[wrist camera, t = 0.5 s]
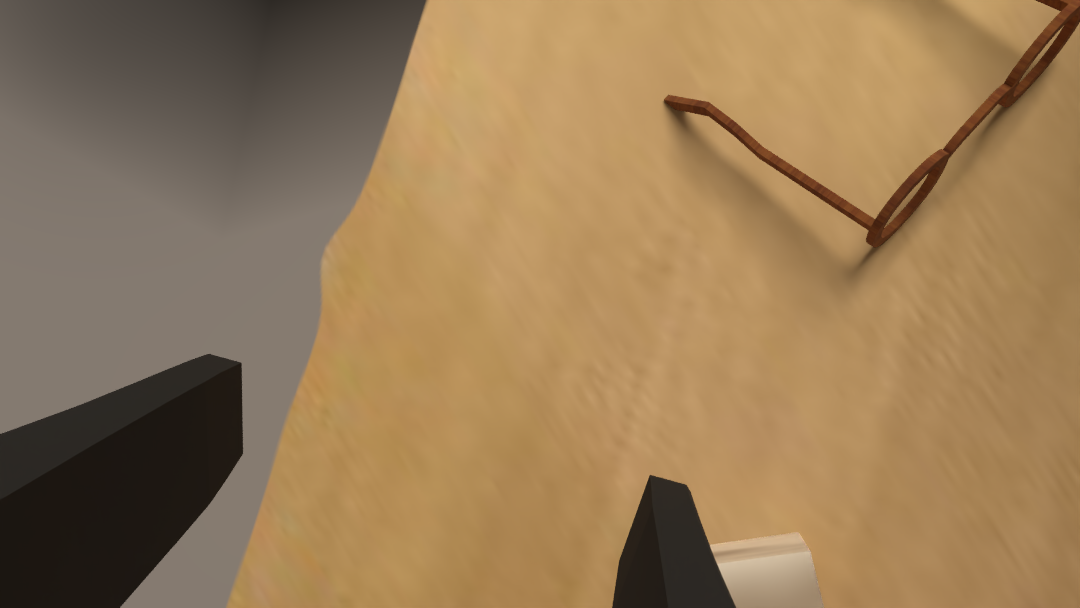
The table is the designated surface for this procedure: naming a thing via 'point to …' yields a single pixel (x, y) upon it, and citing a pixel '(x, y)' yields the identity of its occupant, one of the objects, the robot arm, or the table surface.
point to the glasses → (1076, 5)
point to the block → (769, 572)
